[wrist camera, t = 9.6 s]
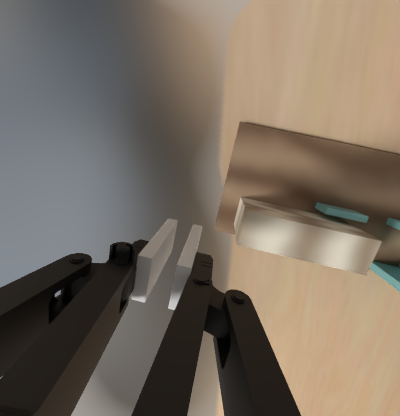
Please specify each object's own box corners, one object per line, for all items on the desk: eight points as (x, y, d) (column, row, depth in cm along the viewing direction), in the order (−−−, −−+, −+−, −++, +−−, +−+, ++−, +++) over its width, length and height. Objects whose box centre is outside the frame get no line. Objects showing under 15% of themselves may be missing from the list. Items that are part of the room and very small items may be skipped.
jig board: (239, 122, 28) (240, 121, 27) (457, 168, 27) (465, 168, 26) (214, 227, 32) (214, 229, 31) (404, 271, 31) (409, 274, 30)
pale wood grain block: (233, 223, 31) (237, 245, 23) (240, 197, 30) (246, 210, 22) (331, 246, 30) (366, 275, 23) (342, 219, 29) (381, 241, 22)
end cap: (316, 202, 29) (327, 207, 26) (354, 210, 29) (369, 216, 26) (299, 250, 31) (307, 260, 28) (334, 258, 30) (346, 269, 28)
